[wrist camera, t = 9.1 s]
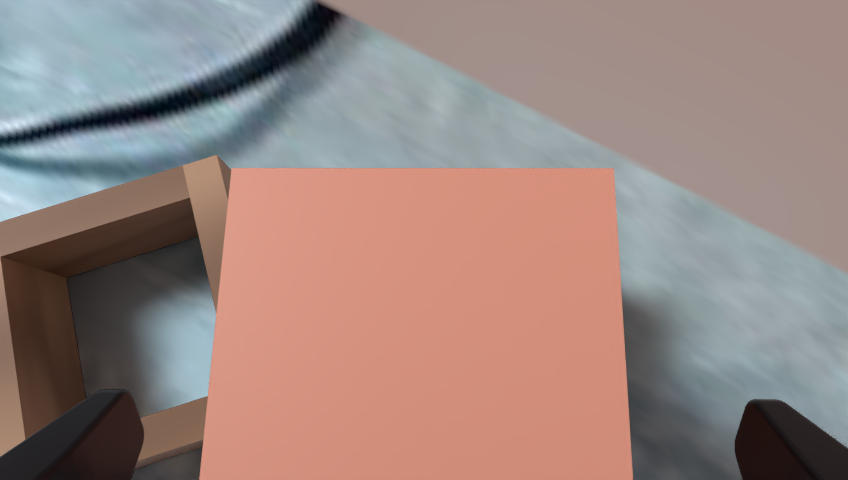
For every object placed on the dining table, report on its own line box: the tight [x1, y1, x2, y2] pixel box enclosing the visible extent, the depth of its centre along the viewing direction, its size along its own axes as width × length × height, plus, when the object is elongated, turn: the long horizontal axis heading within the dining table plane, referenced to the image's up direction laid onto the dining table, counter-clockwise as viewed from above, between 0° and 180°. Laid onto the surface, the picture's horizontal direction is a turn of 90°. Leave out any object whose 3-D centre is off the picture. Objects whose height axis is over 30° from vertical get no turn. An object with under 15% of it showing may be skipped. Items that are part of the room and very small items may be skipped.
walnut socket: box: [0, 155, 231, 469], centre depth 18 cm, size 7×7×3 cm
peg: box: [199, 168, 633, 480], centre depth 12 cm, size 4×4×13 cm
